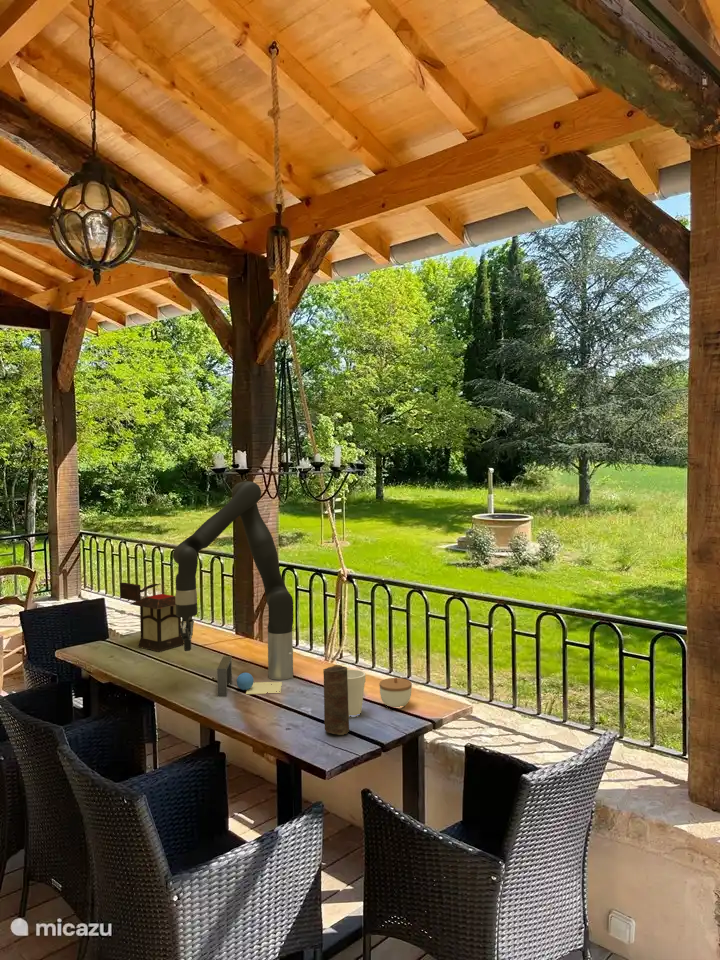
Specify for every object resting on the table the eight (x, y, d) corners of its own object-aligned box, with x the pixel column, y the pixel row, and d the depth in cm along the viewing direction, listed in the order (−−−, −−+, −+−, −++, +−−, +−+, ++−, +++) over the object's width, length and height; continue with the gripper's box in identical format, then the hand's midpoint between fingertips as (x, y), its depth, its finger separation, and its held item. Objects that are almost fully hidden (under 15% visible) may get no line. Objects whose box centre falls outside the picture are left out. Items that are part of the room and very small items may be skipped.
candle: (329, 739, 208) (328, 671, 207) (320, 730, 214) (319, 665, 214) (353, 734, 211) (352, 668, 210) (343, 726, 218) (343, 661, 217)
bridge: (231, 682, 260) (231, 656, 260) (226, 696, 245) (225, 668, 245) (223, 682, 260) (223, 656, 260) (217, 696, 245) (217, 668, 245)
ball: (241, 688, 255) (257, 682, 255) (239, 695, 249) (255, 688, 249) (235, 674, 255) (250, 667, 255) (232, 680, 249) (248, 673, 249)
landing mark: (282, 682, 260) (282, 681, 260) (280, 693, 248) (280, 692, 248) (249, 683, 259) (249, 682, 259) (245, 694, 247) (245, 693, 247)
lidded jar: (378, 700, 240) (378, 673, 239) (409, 699, 240) (409, 672, 240) (381, 712, 229) (380, 683, 229) (413, 711, 230) (413, 682, 229)
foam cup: (340, 720, 222) (339, 679, 222) (333, 710, 231) (333, 670, 231) (369, 717, 225) (369, 676, 224) (361, 707, 234) (361, 668, 233)
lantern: (115, 652, 301) (114, 582, 300) (164, 638, 322) (162, 573, 321) (143, 659, 291) (142, 586, 289) (191, 644, 312) (190, 577, 311)
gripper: (193, 605, 244) (195, 655, 245) (200, 597, 257) (201, 644, 258) (171, 606, 244) (173, 656, 244) (179, 598, 257) (180, 645, 258)
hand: (187, 650), depth 251 cm, fingers closed
